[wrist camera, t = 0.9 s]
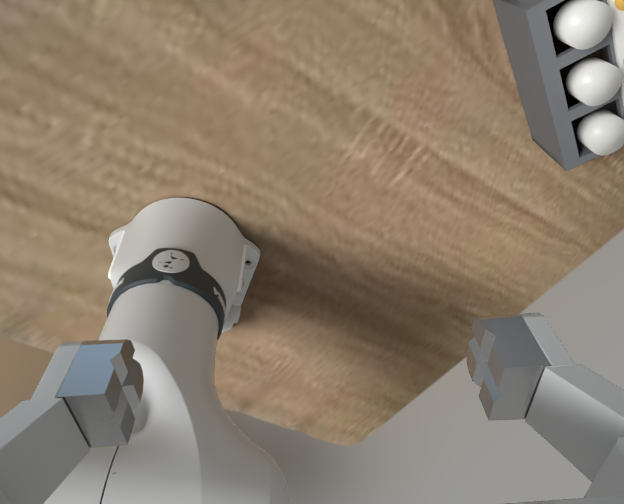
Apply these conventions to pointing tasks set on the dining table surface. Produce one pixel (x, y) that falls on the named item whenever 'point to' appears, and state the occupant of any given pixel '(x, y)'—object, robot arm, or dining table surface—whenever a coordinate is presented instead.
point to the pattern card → (618, 35)
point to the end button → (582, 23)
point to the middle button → (593, 81)
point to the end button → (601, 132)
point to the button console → (549, 79)
